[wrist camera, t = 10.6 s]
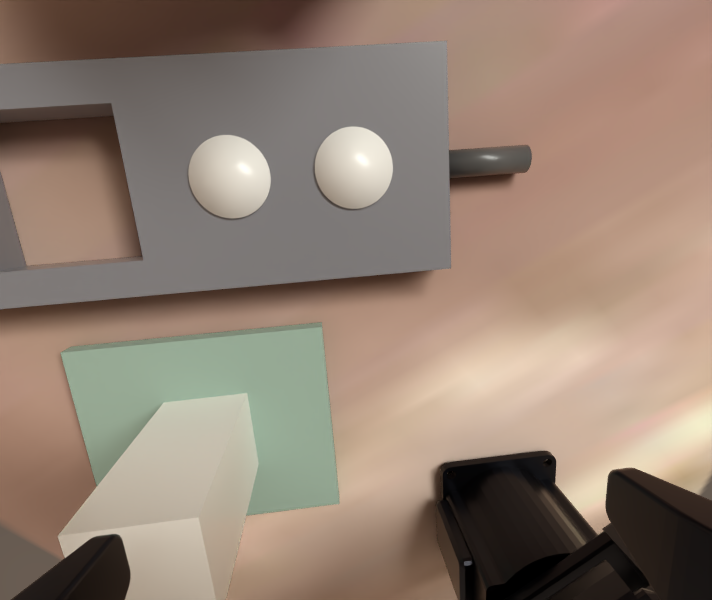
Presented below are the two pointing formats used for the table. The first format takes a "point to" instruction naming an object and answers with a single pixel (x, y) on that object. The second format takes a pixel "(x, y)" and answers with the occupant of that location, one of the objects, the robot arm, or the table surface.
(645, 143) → the table surface
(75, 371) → the green mat
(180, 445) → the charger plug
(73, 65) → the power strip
